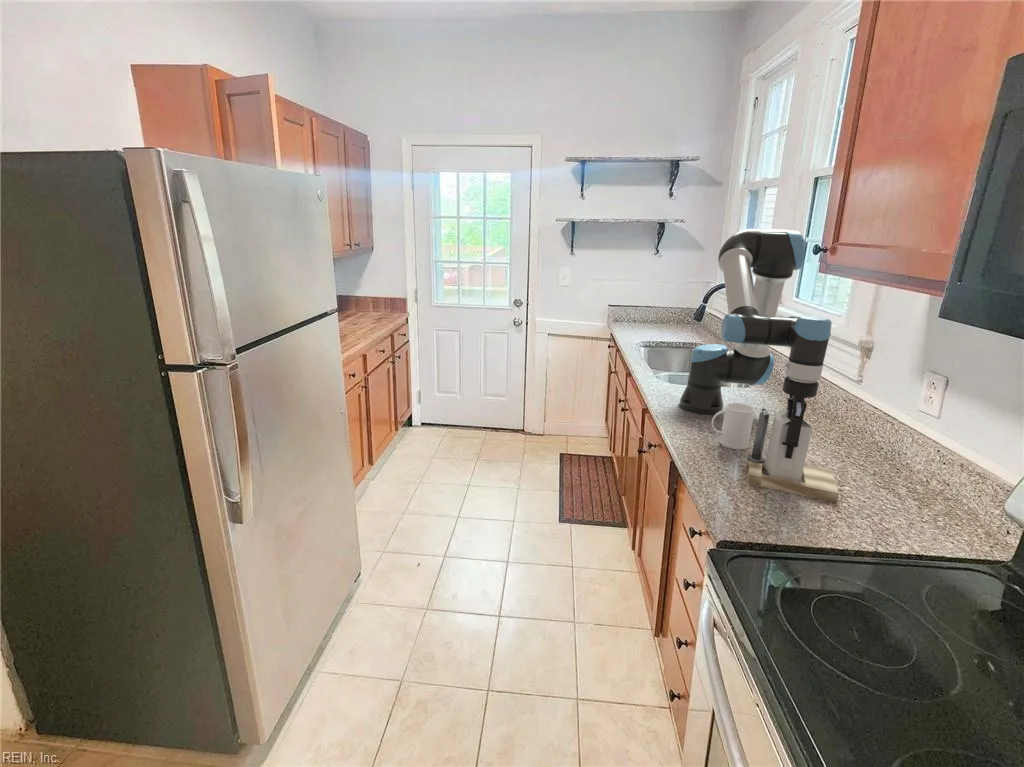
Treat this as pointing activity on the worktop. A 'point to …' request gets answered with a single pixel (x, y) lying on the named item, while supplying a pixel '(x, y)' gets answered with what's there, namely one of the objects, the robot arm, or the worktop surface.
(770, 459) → the milk carton
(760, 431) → the metal door lever handle
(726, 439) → the mug
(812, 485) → the tan flat frame
